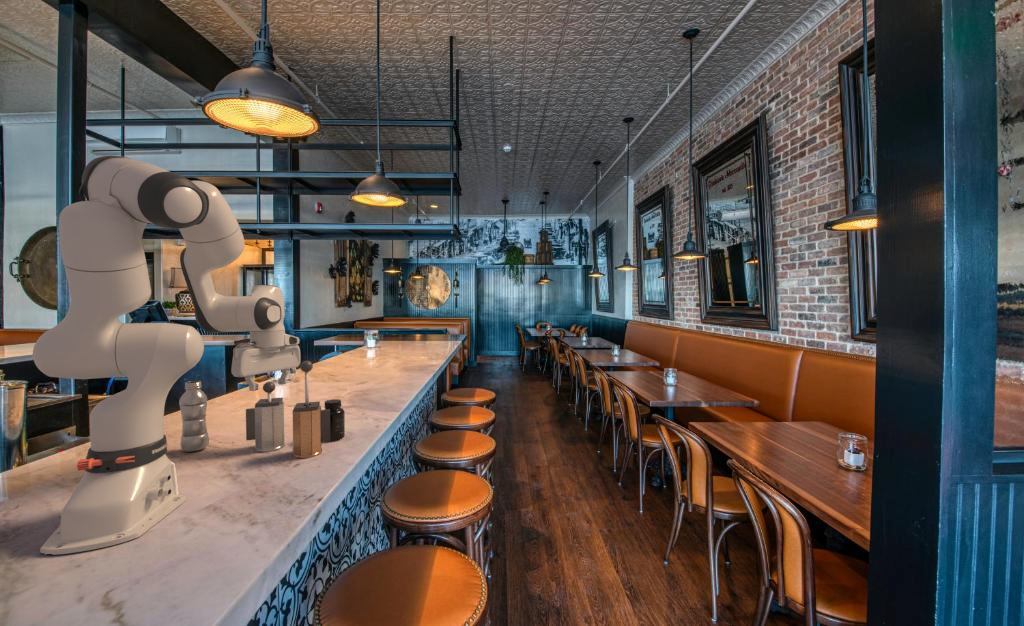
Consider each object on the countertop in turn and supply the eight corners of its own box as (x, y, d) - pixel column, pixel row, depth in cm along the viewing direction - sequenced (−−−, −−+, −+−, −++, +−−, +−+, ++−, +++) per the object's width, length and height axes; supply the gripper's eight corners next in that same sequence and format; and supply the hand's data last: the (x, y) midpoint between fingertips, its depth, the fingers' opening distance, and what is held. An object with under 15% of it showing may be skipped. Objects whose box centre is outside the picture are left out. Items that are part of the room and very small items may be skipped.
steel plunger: (262, 433, 117) (261, 383, 117) (264, 429, 120) (264, 381, 120) (275, 431, 119) (274, 382, 118) (277, 428, 122) (276, 380, 121)
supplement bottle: (316, 440, 125) (315, 402, 125) (332, 433, 132) (331, 397, 131) (334, 443, 123) (334, 404, 123) (349, 436, 130) (349, 399, 129)
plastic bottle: (197, 454, 114) (195, 384, 113) (174, 454, 114) (172, 384, 113) (214, 446, 120) (213, 379, 120) (192, 446, 121) (190, 379, 120)
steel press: (243, 454, 114) (242, 405, 114) (250, 445, 121) (249, 399, 121) (282, 450, 117) (281, 402, 117) (286, 441, 124) (285, 396, 124)
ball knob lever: (314, 409, 117) (313, 359, 116) (312, 412, 114) (312, 361, 113) (301, 410, 116) (300, 360, 115) (300, 413, 113) (299, 361, 112)
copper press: (331, 446, 121) (330, 400, 120) (329, 455, 114) (328, 406, 113) (295, 450, 117) (294, 402, 117) (291, 460, 110) (290, 409, 110)
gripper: (242, 344, 108) (243, 395, 108) (303, 337, 127) (304, 381, 127) (225, 343, 110) (226, 394, 110) (288, 337, 129) (288, 380, 129)
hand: (268, 387), depth 119 cm, fingers open, 8 cm apart
